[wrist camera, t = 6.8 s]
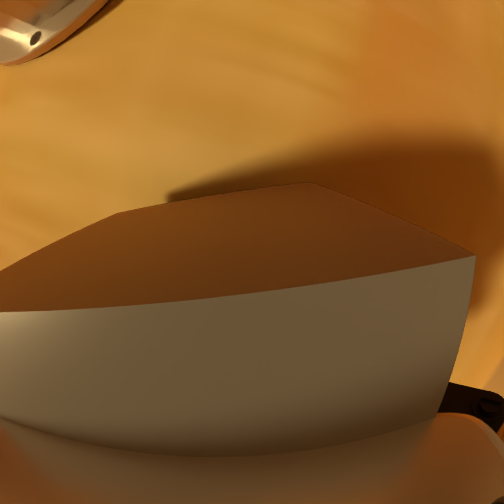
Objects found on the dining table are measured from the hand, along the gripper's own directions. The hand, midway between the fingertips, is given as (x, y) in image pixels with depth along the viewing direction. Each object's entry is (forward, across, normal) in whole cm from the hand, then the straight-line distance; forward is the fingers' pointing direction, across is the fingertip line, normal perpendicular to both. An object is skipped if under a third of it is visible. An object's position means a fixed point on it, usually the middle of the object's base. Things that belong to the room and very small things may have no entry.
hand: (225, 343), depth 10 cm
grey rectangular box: (+2, 0, 0) cm, 2 cm away
